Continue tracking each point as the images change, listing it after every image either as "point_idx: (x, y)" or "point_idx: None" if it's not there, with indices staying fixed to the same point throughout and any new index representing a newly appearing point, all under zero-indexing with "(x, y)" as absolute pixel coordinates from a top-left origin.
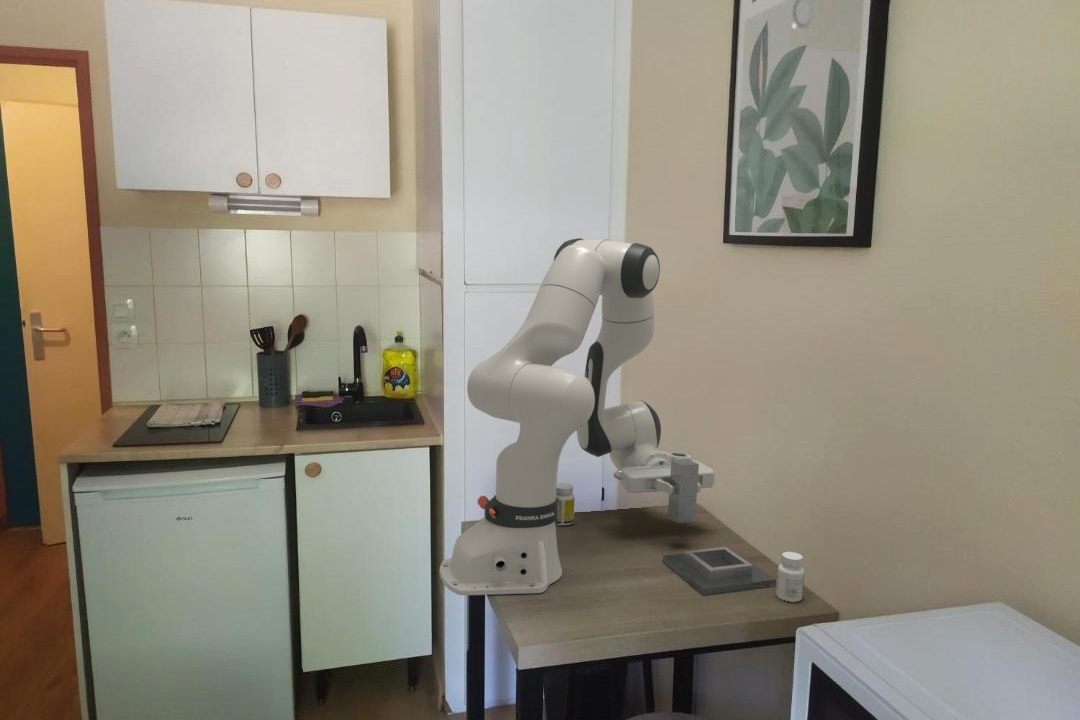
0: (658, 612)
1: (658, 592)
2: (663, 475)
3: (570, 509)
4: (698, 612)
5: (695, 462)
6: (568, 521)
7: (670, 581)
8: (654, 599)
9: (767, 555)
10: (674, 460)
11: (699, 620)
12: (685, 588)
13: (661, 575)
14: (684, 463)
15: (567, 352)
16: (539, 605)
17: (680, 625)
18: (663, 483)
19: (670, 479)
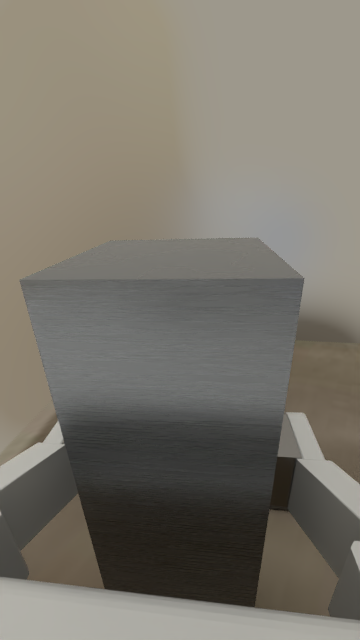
0: (351, 363)
1: (344, 398)
2: (349, 627)
3: None
4: None
5: (93, 248)
6: None
7: (311, 420)
8: (354, 385)
9: (15, 454)
10: (263, 270)
11: (296, 344)
12: (288, 396)
13: (327, 445)
14: (206, 244)
15: None
16: None
17: (324, 343)
18: (352, 483)
19: (270, 481)
